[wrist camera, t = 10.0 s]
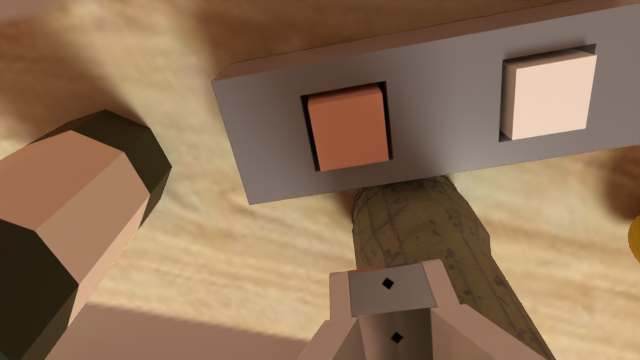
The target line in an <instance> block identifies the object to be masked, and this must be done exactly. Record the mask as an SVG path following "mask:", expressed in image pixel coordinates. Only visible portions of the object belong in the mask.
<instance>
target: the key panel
mask: <svg viewBox="0 0 640 360" xmlns="http://www.w3.org/2000/svg"><path fill="white" fill-rule="evenodd" d="M567 48H572V49H576V50H580V51H584V52H587V53H591V54H595V55H597V59H596V65H595V72H594V78H593V84H592V91H591V97H590V103H589V109H588V116H587V122H586V128H585V129H579V130H572V131H566V132H560V133H554V134H548V135H541V136H535V137H529V138H523V139H516V140H511V139H510V138H509V137H508V136H506V135H505V134H504V133H503V132H501V131H500V130H499V124H500V103H501V81H502V60H504V59H510V58H516V57H521V56H527V55H533V54H538V53H544V52H550V51H555V50H561V49H567ZM374 82H376V83H377V85H378V87H379V89H380V90H381V92H382V98H383V108H384V118H385V128H386V138H387V148H388V157H389V161H383V162H377V163H371V164H364V165H358V166H352V167H346V168H339V169H333V170H327V171H321V170H320V165H319V160H318V155H317V150H316V145H315V140H314V135H313V130H312V124H311V119H310V114H309V109H308V98H309V94H312V93H318V92H323V91H329V90H335V89H340V88H346V87H352V86H357V85H363V84H369V83H374ZM211 83H212V86H213V89H214V92H215V96H216V99H217V102H218V105H219V109H220V112H221V115H222V118H223V122H224V125H225V128H226V131H227V135H228V138H229V141H230V144H231V147H232V151H233V154H234V157H235V160H236V164H237V167H238V170H239V173H240V177H241V180H242V183H243V186H244V189H245V193H246V196H247V199H248V202H249V205H253V204H260V203H266V202H273V201H279V200H286V199H292V198H298V197H305V196H311V195H318V194H324V193H331V192H337V191H343V190H350V189H356V188H363V187H369V186H376V185H382V184H389V183H395V182H401V181H408V180H414V179H421V178H427V177H434V176H440V175H446V174H453V173H459V172H466V171H472V170H479V169H485V168H491V167H498V166H504V165H511V164H517V163H524V162H530V161H537V160H543V159H549V158H556V157H562V156H569V155H575V154H582V153H588V152H594V151H601V150H607V149H614V148H620V147H627V146H633V145H639V144H640V0H571V1H565V2H560V3H555V4H549V5H544V6H538V7H533V8H528V9H522V10H517V11H512V12H506V13H501V14H496V15H490V16H485V17H479V18H474V19H469V20H463V21H458V22H453V23H447V24H442V25H436V26H431V27H426V28H420V29H415V30H410V31H404V32H399V33H393V34H388V35H383V36H377V37H372V38H367V39H361V40H356V41H350V42H345V43H340V44H334V45H329V46H324V47H318V48H313V49H307V50H302V51H297V52H291V53H286V54H281V55H275V56H270V57H264V58H259V59H254V60H248V61H243V62H238V63H232V64H229V65H228V66H227V67H226V68H225V69H224V70H223V71H222V72H221V73H220V74H219V75H218V76H217V77H216V78H215V79H214V80H212V81H211Z"/></svg>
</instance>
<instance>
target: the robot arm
mask: <svg viewBox="0 0 640 360" xmlns="http://www.w3.org/2000/svg"><path fill="white" fill-rule="evenodd" d="M329 291H330V320H326V321H324V322H323V324H322V325H321V327H320V328H319V329H318V331H317V332H316V334H315V335H314V336H313V338H312V339H311V341H310V342H309V343H308V345H307V346H306V348H305V349H304V351H303V352H302V353H301V355H300V356H299V358H298V359H297V360H429V359H433V360H546V359H545V358H543V357H542V356H540V355H539V354H537V353H536V352H535V351H533V350H532V349H530V348H529V347H527V346H526V345H524V344H523V343H522V342H520V341H519V340H517V339H516V338H514V337H513V336H511V335H510V334H508V333H507V332H506V331H504V330H503V329H501V328H500V327H498V326H497V325H495V324H494V323H493V322H491V321H490V320H488V319H487V318H485V317H484V316H482V315H481V314H479V313H478V312H477V311H475V310H474V309H472V308H471V307H469V306H468V305H466V304H462V305H460V304H459V301H458V299H457V296H456V294H455V292H454V289H453V287H452V285H451V282H450V280H449V278H448V275H447V273H446V270H445V268H444V266H443V263H442V261H441V260H440V259H436V260H429V261H422V262H417V263H409V264H402V265H395V266H387V267H380V268H370V269H360V270H351V271H349V272H348V271H345V272H335V273H330V276H329Z"/></svg>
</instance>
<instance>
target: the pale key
mask: <svg viewBox="0 0 640 360" xmlns="http://www.w3.org/2000/svg"><path fill="white" fill-rule="evenodd" d="M596 59H597V55H595V54H591V53H587V52H584V51H580V50H576V49H572V48H567V49H561V50H555V51H550V52H544V53H538V54H533V55H527V56H521V57H516V58H510V59H504V60H502V81H501V103H500V124H499V130H500V131H501V132H503V133H504V134H505V135H506V136H508V137H509V138H510V139H511V140H516V139H523V138H529V137H535V136H541V135H548V134H554V133H560V132H566V131H572V130H579V129H585V128H586V122H587V116H588V109H589V103H590V97H591V91H592V84H593V78H594V72H595V65H596Z"/></svg>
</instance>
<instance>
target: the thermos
mask: <svg viewBox="0 0 640 360" xmlns="http://www.w3.org/2000/svg"><path fill="white" fill-rule="evenodd" d="M352 218H353V229H352V234H353V242H354V250H355V258H356V266H357V270H360V269H370V268H380V267H387V266H395V265H402V264H409V263H417V262H422V261H429V260H436V259H440V260H441V261H442V263H443V266H444V268H445V270H446V273H447V275H448V278H449V280H450V282H451V285H452V287H453V289H454V292H455V294H456V296H457V299H458V301H459V304H460V305H462V304H466V305H468V306H469V307H471V308H472V309H474V310H475V311H477V312H478V313H479V314H481V315H482V316H484V317H485V318H487V319H488V320H490V321H491V322H493V323H494V324H495V325H497V326H498V327H500V328H501V329H503V330H504V331H506V332H507V333H508V334H510V335H511V336H513V337H514V338H516V339H517V340H519V341H520V342H522V343H523V344H524V345H526V346H527V347H529V348H530V349H532V350H533V351H535V352H536V353H537V354H539V355H540V356H542V357H543V358H545V359H546V360H556V359H555V357H554V356H553V354H552V352H551V351H550V349H549V348H548V346H547V344H546V343H545V341H544V340H543V338H542V336H541V335H540V333H539V331H538V330H537V328H536V327H535V325H534V323H533V322H532V320H531V319H530V317H529V315H528V314H527V312H526V311H525V309H524V307H523V306H522V304H521V302H520V301H519V299H518V298H517V296H516V294H515V293H514V291H513V290H512V288H511V286H510V285H509V283H508V281H507V280H506V278H505V277H504V275H503V273H502V272H501V270H500V269H499V267H498V265H497V264H496V262H495V260H494V259H493V257H492V256H491V248H490V236H489V234H488V232H487V231H486V229H485V227H484V226H483V224H482V223H481V221H480V220H479V218H478V217H477V215H476V214H475V212H474V211H473V209H472V208H471V206H470V205H469V203H468V202H467V201H466V200H465V199H464V198H463V196H462V195H461V194H460V193H459V192H458V191H457V189H456V188H455V186H454V185H453V184H452V183H451V182H450V180H449V179H448V178H447V177H446V176H445V175H440V176H434V177H427V178H421V179H414V180H408V181H401V182H395V183H389V184H382V185H376V186H369V187H363V188H361V190H360V191H359V193H358V194H357V196H356V197H355V201H354V205H353V209H352ZM429 360H433V359H429Z"/></svg>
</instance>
